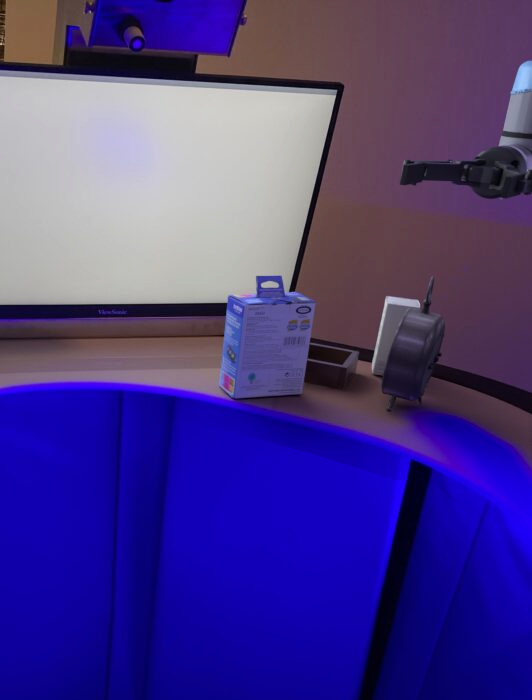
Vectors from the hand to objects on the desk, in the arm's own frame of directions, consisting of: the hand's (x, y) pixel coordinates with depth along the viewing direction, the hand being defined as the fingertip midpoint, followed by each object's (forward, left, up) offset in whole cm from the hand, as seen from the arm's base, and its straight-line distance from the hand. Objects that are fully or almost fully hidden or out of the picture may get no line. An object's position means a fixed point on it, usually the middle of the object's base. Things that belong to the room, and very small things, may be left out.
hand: (453, 181), depth 114 cm
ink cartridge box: (+15, +27, -25) cm, 40 cm away
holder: (+10, +16, -25) cm, 32 cm away
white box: (+2, +9, -25) cm, 27 cm away
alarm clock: (-2, +21, -25) cm, 33 cm away
